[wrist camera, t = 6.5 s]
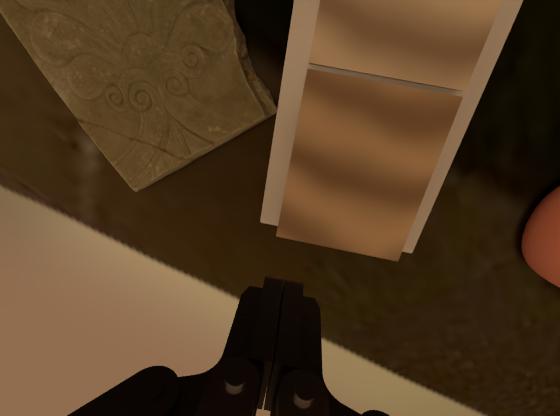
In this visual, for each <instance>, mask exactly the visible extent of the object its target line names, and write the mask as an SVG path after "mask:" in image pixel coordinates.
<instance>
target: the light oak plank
mask: <svg viewBox="0 0 560 416" xmlns="http://www.w3.org/2000/svg"><path fill="white" fill-rule="evenodd" d="M502 1H503V0H320V4H319V10H318V15H317V21H316V26H315V31H314V37H313V42H312V47H311V53H310V58H309V64H314V65H319V66H325V67H330V68H336V69H341V70H347V71H352V72H358V73H363V74H369V75H374V76H380V77H385V78H391V79H396V80H402V81H407V82H413V83H418V84H424V85H429V86H435V87H440V88H446V89H451V90H457V91H465V90H466V88H467V86H468V83H469V81H470V78H471V76H472V74H473V71H474V69H475V66H476V64H477V62H478V59H479V57H480V54H481V52H482V49H483V47H484V45H485V42H486V40H487V37H488V35H489V33H490V30H491V28H492V25H493V23H494V21H495V18H496V16H497V13H498V11H499V8H500V6H501V4H502Z"/></svg>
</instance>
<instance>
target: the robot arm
mask: <svg viewBox="0 0 560 416" xmlns="http://www.w3.org/2000/svg"><path fill="white" fill-rule="evenodd" d="M283 280H284V279H283V278H278V277H273V276H268V275H266V276H265V281H264V285H263V288H258V287H253V286H249V287H248V288H247V289H246V290H245V291H244V293H243V294H242V295H241V298H240V301H239V304H238V308H237V311H236V314H235V318H234V321H233V324H232V327H231V330H230V333H229V336H228V339H227V343H226V346H225V349H224V352H223V355H222V357H221V359H220V361H219V362H218V363H217V364H216V365H215V366H214V367H213V368H211V369H210V370H208V371H206V372H204V373H201V374H197V375H190V376H183V377H177V375H176V373H175V372H174V371H173V370H171V369H170V368H167V367H164V366H152V367H148V368H145V369H143V370H141V371H139V372H138V373H136V374H135V375H133V376H131V377H130V378H128V379H126V380H125V381H123V382H121V383H120V384H118V385H117V386H115V387H113V388H112V389H110V390H108V391H107V392H105V393H103V394H102V395H100V396H99V397H97V398H95V399H94V400H92V401H90V402H89V403H87V404H85V405H84V406H82V407H80V408H79V409H78V410H76V411H74V412H72V413H71V414H69V415H68V416H256V411H257V409H262V406H263V401H264V397H265V393H266V398H265V405H264V410H268V411H271V414H270V416H389V415H388V414H386V413H384V412H381V411H377V410H369V411H366V412H364V413H363V414H362V415H361V414H359V413H357V412H356V411H354V410H352V409H350V408H349V407H347V406H345V405H343V404H342V403H340V402H339V401H338V400H337V399H335V398H334V397H333V396H332V395H331V393H330V392H329V390H328V389H327V387H326V385H325V383H324V380H323V375H322V348H321V324H320V322H321V318H320V308H319V306H318V304H317V302H316V300H315V298H310V297H305V296H303V282H299V281H294V280H289V279H285V281H284V286H283ZM282 288H283V290H282ZM266 388H267V391H266Z"/></svg>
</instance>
